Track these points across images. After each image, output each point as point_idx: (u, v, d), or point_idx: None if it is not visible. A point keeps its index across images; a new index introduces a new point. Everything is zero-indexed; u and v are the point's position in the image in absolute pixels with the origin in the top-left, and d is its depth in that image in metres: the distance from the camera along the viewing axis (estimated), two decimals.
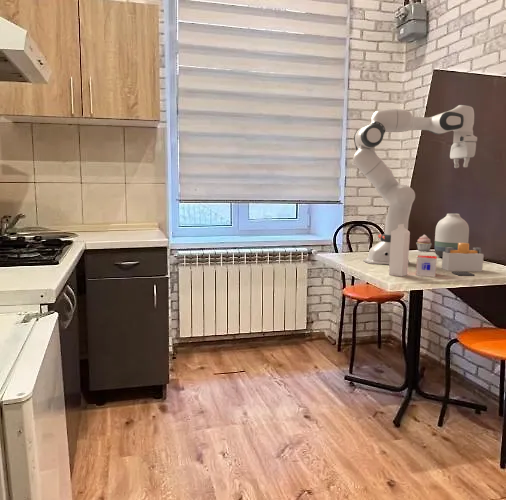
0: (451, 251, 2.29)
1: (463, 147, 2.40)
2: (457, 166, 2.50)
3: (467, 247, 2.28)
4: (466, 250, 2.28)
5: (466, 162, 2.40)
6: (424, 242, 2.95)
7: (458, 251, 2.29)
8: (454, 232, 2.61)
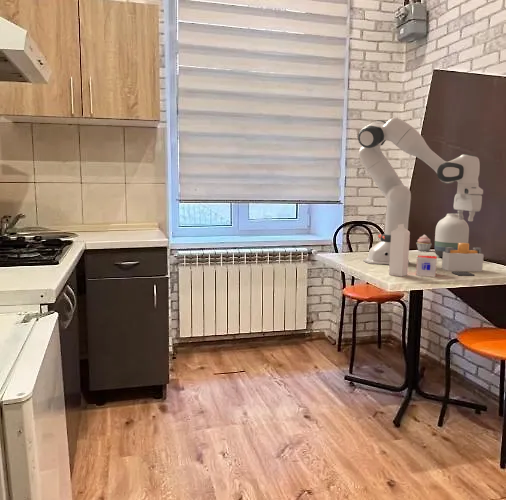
0: (451, 251, 2.29)
1: (468, 200, 2.23)
2: (461, 218, 2.32)
3: (467, 247, 2.28)
4: (466, 250, 2.28)
5: (471, 216, 2.22)
6: (424, 242, 2.95)
7: (458, 251, 2.29)
8: (454, 232, 2.61)
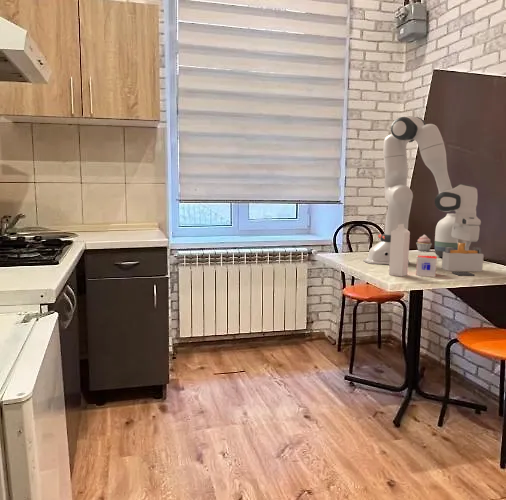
0: (451, 251, 2.29)
1: (466, 230, 2.24)
2: None
3: None
4: None
5: (467, 245, 2.26)
6: (424, 242, 2.95)
7: (458, 251, 2.29)
8: None
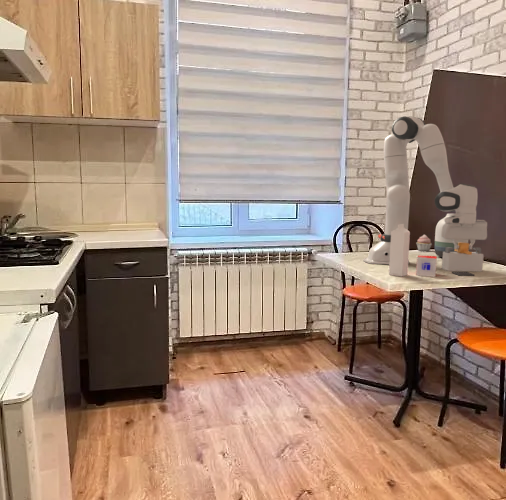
0: (455, 249, 2.36)
1: None
2: None
3: (459, 246, 2.29)
4: (458, 249, 2.29)
5: (454, 244, 2.30)
6: (424, 242, 2.95)
7: None
8: None
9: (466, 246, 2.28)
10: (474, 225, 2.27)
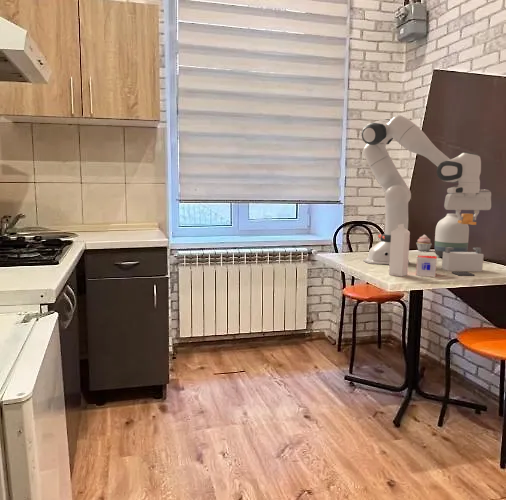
0: (458, 221, 2.29)
1: None
2: None
3: None
4: (462, 220, 2.22)
5: (458, 215, 2.22)
6: (424, 242, 2.95)
7: None
8: (454, 232, 2.61)
9: (470, 217, 2.20)
10: (478, 195, 2.20)
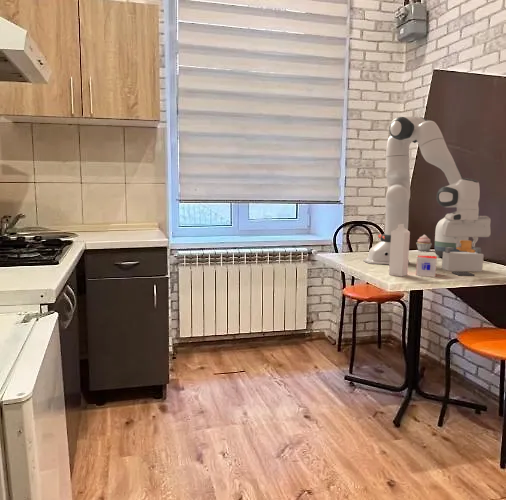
0: (457, 247, 2.23)
1: None
2: None
3: (461, 244, 2.16)
4: (460, 247, 2.17)
5: (456, 242, 2.17)
6: (424, 242, 2.95)
7: None
8: None
9: (469, 244, 2.15)
10: (477, 221, 2.14)
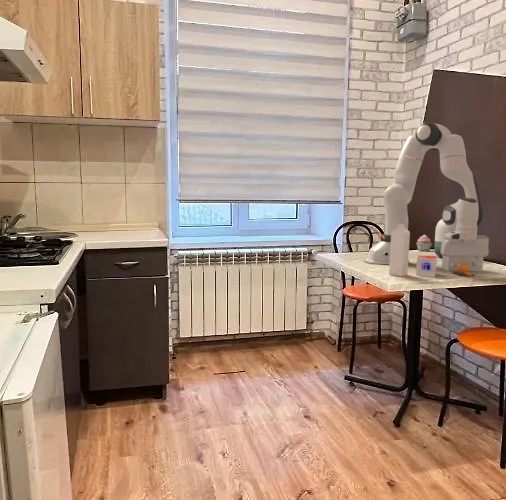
0: (454, 269, 2.25)
1: None
2: (472, 264, 2.19)
3: (459, 266, 2.18)
4: (458, 269, 2.18)
5: (450, 261, 2.18)
6: (424, 242, 2.95)
7: None
8: None
9: (466, 266, 2.17)
10: (475, 241, 2.16)
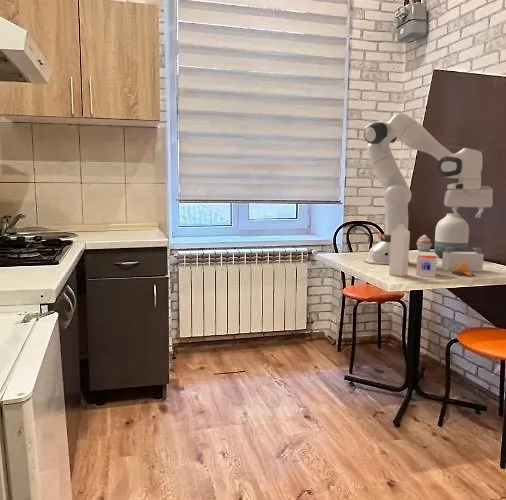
0: (454, 269, 2.25)
1: None
2: (476, 216, 2.16)
3: (459, 266, 2.18)
4: (458, 269, 2.18)
5: (454, 212, 2.15)
6: (424, 242, 2.95)
7: None
8: (454, 232, 2.61)
9: (466, 266, 2.17)
10: (479, 191, 2.13)
